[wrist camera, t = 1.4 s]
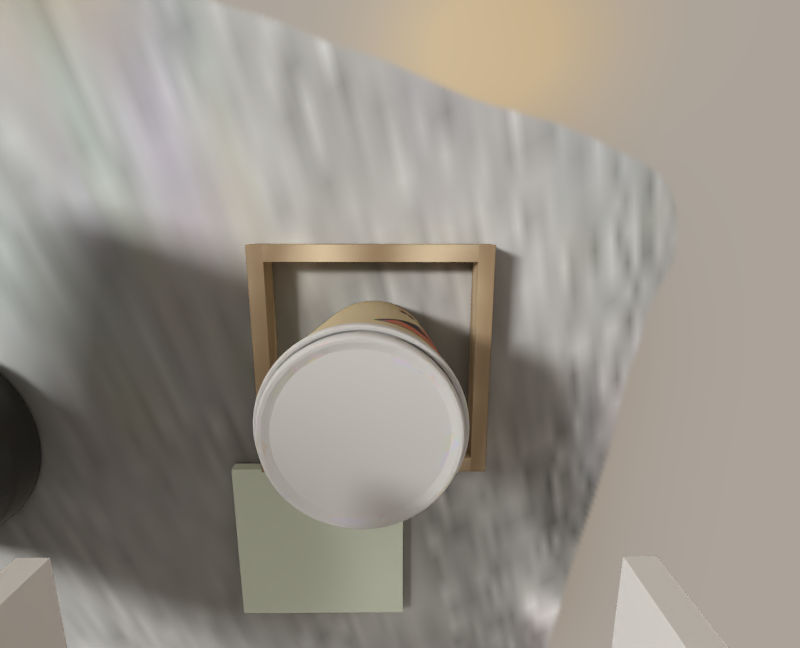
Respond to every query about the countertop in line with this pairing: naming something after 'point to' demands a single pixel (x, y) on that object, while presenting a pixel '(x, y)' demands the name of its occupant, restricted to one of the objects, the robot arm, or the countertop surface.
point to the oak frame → (479, 254)
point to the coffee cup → (362, 420)
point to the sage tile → (310, 556)
